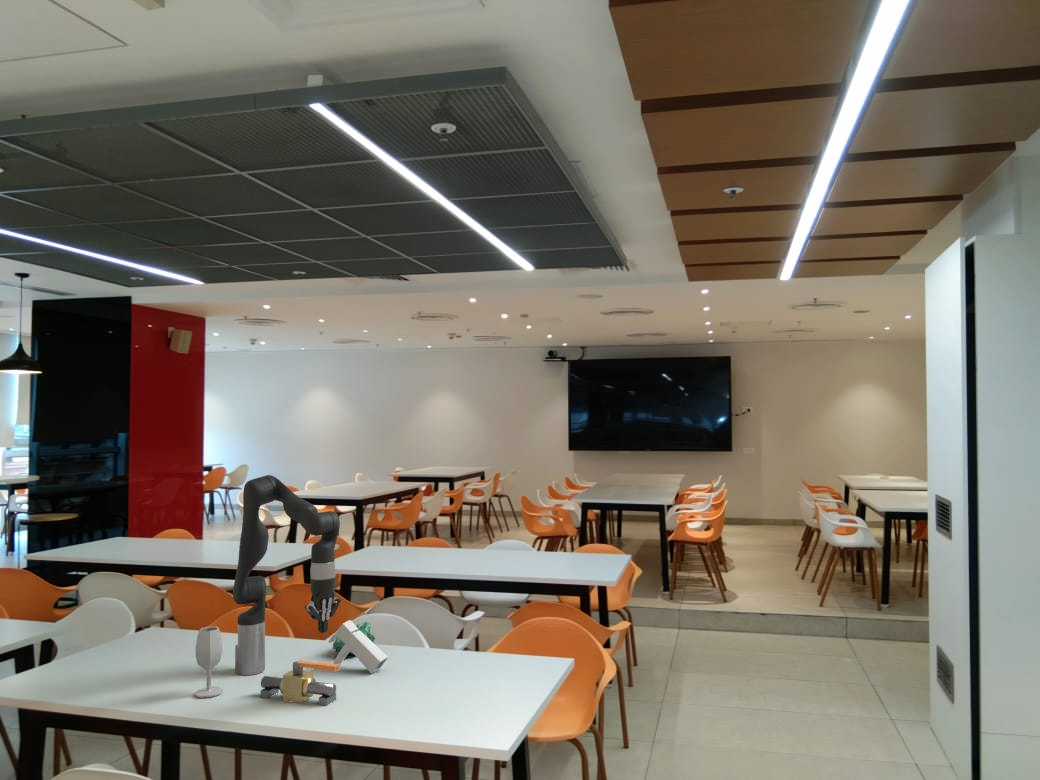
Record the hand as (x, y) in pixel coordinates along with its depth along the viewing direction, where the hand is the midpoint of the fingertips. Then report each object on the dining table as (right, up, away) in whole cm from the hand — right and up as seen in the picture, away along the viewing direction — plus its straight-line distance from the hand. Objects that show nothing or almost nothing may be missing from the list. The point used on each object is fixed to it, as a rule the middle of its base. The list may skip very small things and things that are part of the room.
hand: (323, 632), depth 233 cm
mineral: (-2, -26, +54) cm, 60 cm away
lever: (-3, -14, +3) cm, 15 cm away
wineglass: (-40, -24, +11) cm, 48 cm away
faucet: (+4, -25, +33) cm, 42 cm away
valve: (-9, -23, +6) cm, 25 cm away
